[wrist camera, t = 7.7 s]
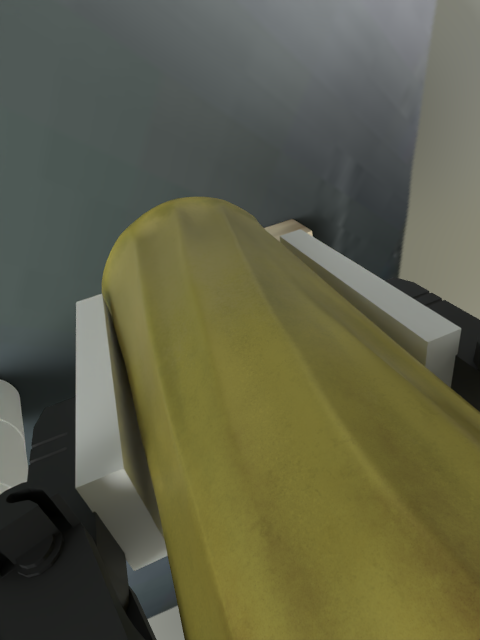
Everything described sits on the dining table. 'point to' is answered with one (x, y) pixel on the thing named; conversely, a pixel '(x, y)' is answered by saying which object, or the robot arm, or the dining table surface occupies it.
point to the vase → (290, 442)
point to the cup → (11, 439)
